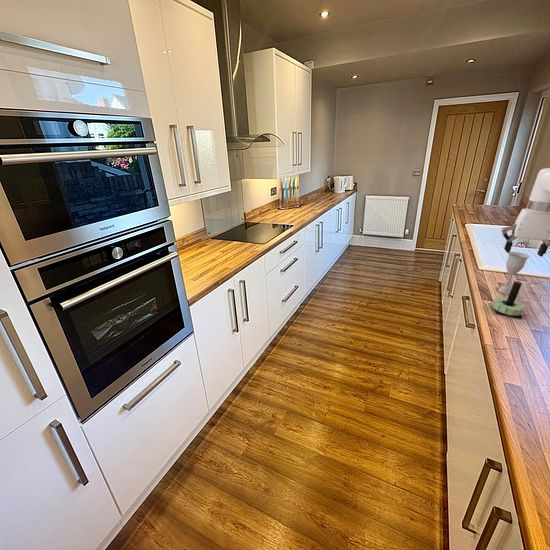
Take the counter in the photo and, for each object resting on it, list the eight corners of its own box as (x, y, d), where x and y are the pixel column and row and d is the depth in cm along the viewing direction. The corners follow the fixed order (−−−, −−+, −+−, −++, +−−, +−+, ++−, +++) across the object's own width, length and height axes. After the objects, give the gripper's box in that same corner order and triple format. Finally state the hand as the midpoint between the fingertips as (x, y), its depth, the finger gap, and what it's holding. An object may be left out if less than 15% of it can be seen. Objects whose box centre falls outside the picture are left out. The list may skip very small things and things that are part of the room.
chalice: (495, 292, 132) (508, 255, 124) (495, 286, 137) (508, 250, 129) (515, 296, 128) (530, 258, 120) (514, 290, 133) (529, 254, 125)
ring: (518, 306, 119) (521, 300, 118) (524, 318, 111) (527, 312, 110) (490, 300, 123) (492, 295, 122) (494, 311, 115) (496, 306, 114)
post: (516, 308, 119) (527, 280, 114) (521, 318, 113) (534, 289, 107) (493, 304, 122) (503, 276, 117) (496, 313, 116) (507, 285, 110)
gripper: (569, 206, 99) (549, 253, 106) (507, 202, 105) (493, 247, 113) (578, 210, 93) (557, 260, 100) (512, 206, 99) (496, 253, 106)
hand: (523, 253), depth 106 cm, fingers open, 9 cm apart
